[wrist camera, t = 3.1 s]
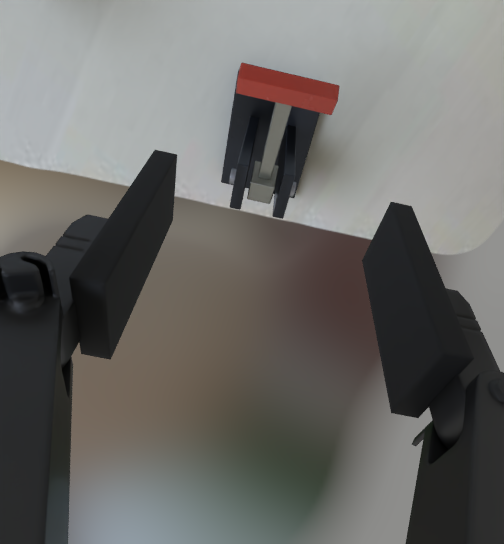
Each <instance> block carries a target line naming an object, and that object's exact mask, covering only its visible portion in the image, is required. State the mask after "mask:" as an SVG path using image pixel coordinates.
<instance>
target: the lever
mask: <svg viewBox="0 0 504 544" xmlns="http://www.w3.org/2000/svg"><path fill="white" fill-rule="evenodd" d="M236 93H238V94H242V95H246V96H251V97H255V98H259V99H264V100H268V101H272V102H275V106H274V111H273V115H272V119H271V123H270V127H269V132H268V136H267V140H266V144H265V148H264V153H263V157H262V161H261V162H259V161H255V163H254V168H253V172H252V177H251V182H250V187H249V192H248V197H247V199H249V200H254V201H258V202H263V203H268V204H270V202H271V199H272V196H273V193H274V190H275V186H276V180H277V174H278V169H279V166H277V165H275V162H276V158H277V155H278V152H279V148H280V145H281V141H282V138H283V135H284V131H285V128H286V124H287V121H288V117H289V114H290V111H291V107H292V106H294V107H298V108H303V109H307V110H311V111H316V112H320V113H324V114H329V115H332V113H333V110H334V108H335V106H336V103H337V101H338V94H339V85H335V84H330V83H326V82H322V81H318V80H313V79H309V78H305V77H301V76H296V75H292V74H288V73H284V72H279V71H275V70H271V69H267V68H262V67H258V66H254V65H250V64H245V63H241V66H240V70H239V74H238V80H237V89H236Z"/></svg>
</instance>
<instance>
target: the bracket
mask: <svg viewBox="0 0 504 544" xmlns="http://www.w3.org/2000/svg"><path fill="white" fill-rule="evenodd" d="M239 70H240V69H239ZM238 74H239V71H238ZM237 80H238V76H237ZM236 89H237V82H236ZM236 89H235V95H234V102H233V108H232V115H231V121H230V128H229V134H228V141H227V147H226V154H225V160H224V167H223V173H222V180H221V182H222V183H227V184H231V185H234V186H233V191H232V197H231V203H230V208H235V209H241V204H242V200H243V195H244V191H245V188H249V187H250V182H251V177H252V172H253V168H254V163H255V161H259V162H261V161H262V157H263V153H264V148H265V144H266V140H267V136H268V132H269V127H270V123H271V119H272V115H273V111H274V106H275V102H272V101H268V100H264V99H259V98H255V97H251V96H246V95H242V94H238V93H236ZM319 114H320V112H316V111H311V110H307V109H303V108H298V107H294V106H292V107H291V111H290V114H289V117H288V121H287V124H286V128H285V131H284V135H283V138H282V141H281V145H280V148H279V152H278V155H277V158H276V162H275V165H277V166H279V169H278V174H277V180H276V186H275V190H274V193H273V194H275V196H274V206H273V217H277V218H282V219H283V217H284V213H285V210H286V206H287V203H288V199H289V197H291V198H294V197H295V194H296V190H297V187H298V184H299V180H300V177H301V174H302V170H303V167H304V164H305V160H306V157H307V154H308V150H309V147H310V144H311V140H312V137H313V134H314V130H315V127H316V124H317V120H318V117H319Z"/></svg>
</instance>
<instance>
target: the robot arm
mask: <svg viewBox="0 0 504 544" xmlns="http://www.w3.org/2000/svg"><path fill="white" fill-rule="evenodd" d="M176 163H177V155H176V154H172V153H167V152H163V151H158V150H155V151H154V152H153V154H152V155H151V156H150V158H149V159H148V161H147V162H146V164H145V165H144V167H143V168H142V170H141V171H140V173H139V174H138V176H137V177H136V179H135V180H134V182H133V183H132V185H131V186H130V188H129V189H128V191H127V192H126V194H125V195H124V197H123V198H122V200H121V201H120V202H119V204H118V205H117V207H116V208H115V210H114V211H113V213H112V214H111V216H110V217H109V219H106V218H101V217H97V216H92V215H85V216H83V217H82V218H80V219H78V220H76V221H74V222H73V223H72V224H71V225H70V226H69V227H68V229H67V230H66V231H65V232H64V234H63V237H62V236H61V238H60V239H59V240H58V241H57V243H56V246H53V248H52V249H51V250H50V251H49V253H48V254H47V255H46V256H44V255H41V254H38V253H34V252H16V253H10V254H7V255H4V256H1V257H0V544H68V522H69V486H70V452H71V450H70V449H71V416H72V415H71V414H72V413H71V412H72V382H73V363H72V357H71V356H72V354H73V352H74V350H75V348H76V346H77V345H78V343H80V348H81V354H85V355H90V356H95V357H100V358H106V359H111V357H112V355H113V353H114V351H115V348H116V346H117V344H118V342H119V339H120V337H121V335H122V332H123V330H124V328H125V326H126V324H127V322H128V319H129V317H130V315H131V313H132V310H133V308H134V306H135V303H136V301H137V299H138V296H139V295H140V292H141V290H142V288H143V286H144V283H145V281H146V279H147V277H148V274H149V272H150V270H151V268H152V265H153V263H154V261H155V259H156V256H157V254H158V252H159V250H160V248H161V245H162V243H163V241H164V239H165V236H166V234H167V232H168V229H169V227H170V225H171V223H172V220H173V207H174V206H173V205H174V193H175V178H176ZM362 262H363V267H364V272H365V277H366V283H367V288H368V293H369V299H370V303H371V309H372V314H373V319H374V325H375V330H376V335H377V341H378V346H379V351H380V356H381V361H382V366H383V371H384V377H385V382H386V388H387V393H388V398H389V403H390V409H391V413H395V414H400V415H405V416H411V417H416V418H419V416H420V415H421V414H422V413H423V412H424V411H425V410H426V409H427V408H428V407H429V408H430V411H431V415H432V419H433V420H432V422H430V423H429V424H428V425H427V426H426V427H425V429H423V430H422V431H421V432H420V433H419V434H418V435H417V436H416V437H415V439H414V441H413V443H412V445H414V446H417V445H418V444H419V443H420V442H421V441H422V440H423V439H424V440H423V445H422V452H421V458H420V463H419V469H418V475H417V480H416V486H415V492H414V498H413V504H412V510H411V515H410V522H409V527H408V533H407V539H406V544H504V373H503V372H500V370H499V368H498V365H497V363H496V361H495V359H494V357H493V355H492V352H491V350H490V348H489V346H488V344H487V342H486V339H485V337H484V335H483V333H482V332H480V330H481V328H480V326H479V324H478V322H477V321H476V320H475V319H476V318H475V315H474V313H473V311H472V309H471V306H470V304H469V303H468V302H467V301H466V300H465V299H464V298H463V296H462V295H461V294H460V293H459V292H458V291H455V290H450V289H446V288H445V286H444V284H443V281H442V279H441V277H440V274H439V272H438V269H437V267H436V264H435V262H434V259H433V257H432V255H431V252H430V250H429V247H428V245H427V242H426V240H425V238H424V235H423V233H422V230H421V228H420V225H419V223H418V221H417V218H416V216H415V213H414V211H413V208H412V206H408V205H403V204H399V203H394V202H391V203H390V205H389V207H388V209H387V211H386V213H385V215H384V217H383V219H382V221H381V223H380V225H379V227H378V229H377V231H376V233H375V235H374V237H373V239H372V241H371V244H370V246H369V248H368V250H367V252H366V254H365V256H364V258H363V260H362Z"/></svg>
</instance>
